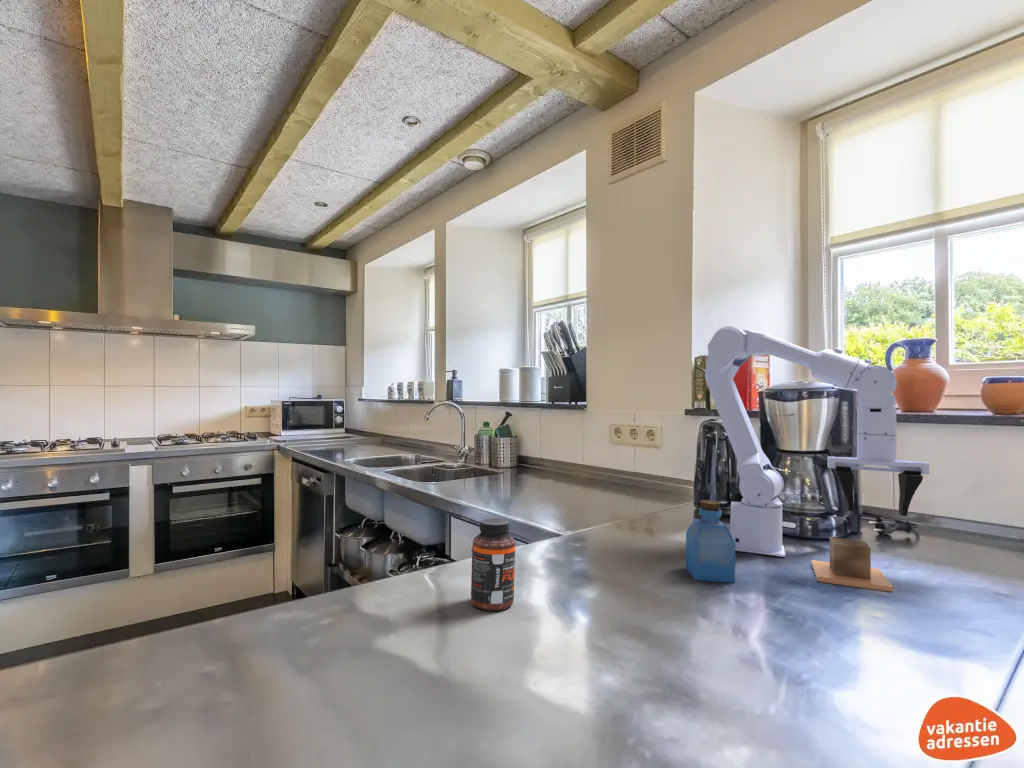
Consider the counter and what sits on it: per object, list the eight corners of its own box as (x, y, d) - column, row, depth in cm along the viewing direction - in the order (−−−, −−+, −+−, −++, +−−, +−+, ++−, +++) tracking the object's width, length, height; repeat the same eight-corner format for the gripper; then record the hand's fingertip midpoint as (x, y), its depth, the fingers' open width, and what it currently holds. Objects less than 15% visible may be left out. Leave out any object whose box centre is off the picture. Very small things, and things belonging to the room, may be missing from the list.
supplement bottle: (509, 614, 69) (511, 527, 69) (465, 610, 70) (467, 524, 70) (517, 598, 74) (519, 517, 75) (477, 594, 76) (479, 515, 76)
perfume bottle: (723, 570, 89) (723, 499, 90) (734, 582, 83) (735, 506, 84) (685, 568, 90) (686, 497, 90) (694, 580, 84) (695, 504, 84)
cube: (833, 574, 86) (834, 543, 86) (829, 566, 90) (829, 536, 90) (870, 579, 84) (870, 548, 84) (864, 570, 88) (864, 540, 88)
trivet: (817, 581, 85) (817, 576, 85) (811, 564, 94) (811, 559, 94) (892, 592, 80) (892, 586, 80) (878, 573, 89) (878, 568, 90)
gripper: (831, 433, 91) (830, 512, 91) (934, 437, 85) (935, 521, 85) (826, 431, 98) (825, 505, 97) (922, 435, 92) (922, 513, 91)
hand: (876, 512), depth 92 cm, fingers open, 7 cm apart
